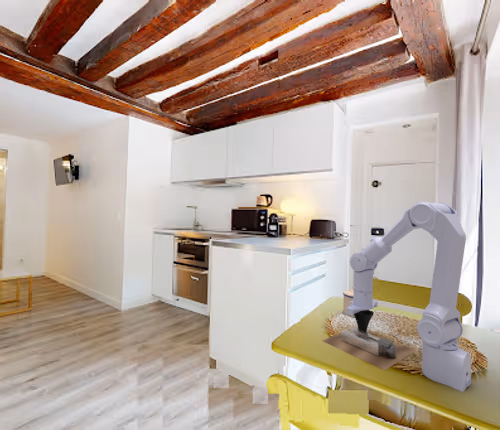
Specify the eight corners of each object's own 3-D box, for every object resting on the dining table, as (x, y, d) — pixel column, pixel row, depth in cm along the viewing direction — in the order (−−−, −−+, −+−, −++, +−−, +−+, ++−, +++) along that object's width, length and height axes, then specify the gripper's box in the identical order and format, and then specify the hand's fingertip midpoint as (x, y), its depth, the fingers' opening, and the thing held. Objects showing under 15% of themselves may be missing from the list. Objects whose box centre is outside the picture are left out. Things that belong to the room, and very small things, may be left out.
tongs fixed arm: (393, 356, 75) (393, 341, 75) (387, 359, 73) (387, 344, 73) (347, 337, 87) (347, 324, 87) (341, 339, 85) (341, 326, 85)
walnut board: (415, 353, 79) (416, 350, 79) (384, 374, 68) (384, 370, 68) (354, 330, 95) (354, 327, 95) (321, 343, 85) (321, 340, 85)
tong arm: (397, 357, 75) (398, 346, 75) (391, 359, 73) (391, 348, 73) (354, 335, 88) (354, 326, 88) (348, 336, 87) (349, 327, 87)
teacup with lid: (362, 321, 104) (362, 291, 104) (339, 315, 110) (339, 287, 110) (371, 313, 113) (371, 285, 113) (349, 308, 119) (350, 281, 119)
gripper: (364, 284, 93) (363, 323, 93) (338, 290, 85) (337, 333, 85) (384, 289, 88) (383, 330, 88) (358, 296, 79) (357, 342, 79)
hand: (362, 332), depth 86 cm, fingers closed
